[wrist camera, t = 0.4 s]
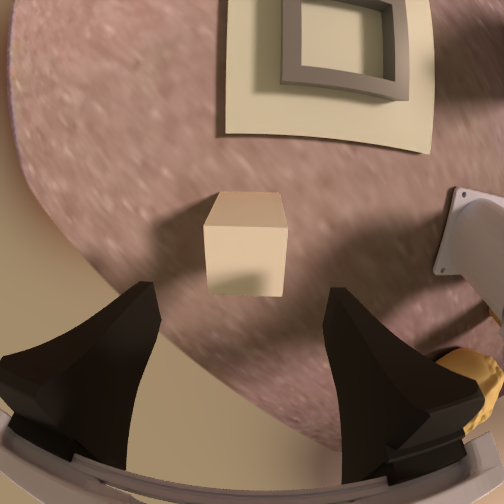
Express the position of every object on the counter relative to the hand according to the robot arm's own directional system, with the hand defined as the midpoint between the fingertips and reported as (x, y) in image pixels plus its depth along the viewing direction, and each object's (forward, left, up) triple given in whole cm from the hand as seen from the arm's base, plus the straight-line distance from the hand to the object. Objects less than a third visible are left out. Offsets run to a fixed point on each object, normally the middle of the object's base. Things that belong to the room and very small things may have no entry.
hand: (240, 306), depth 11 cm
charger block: (0, 0, -9) cm, 9 cm away
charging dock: (-6, -13, -9) cm, 17 cm away
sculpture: (-26, +19, -10) cm, 34 cm away
